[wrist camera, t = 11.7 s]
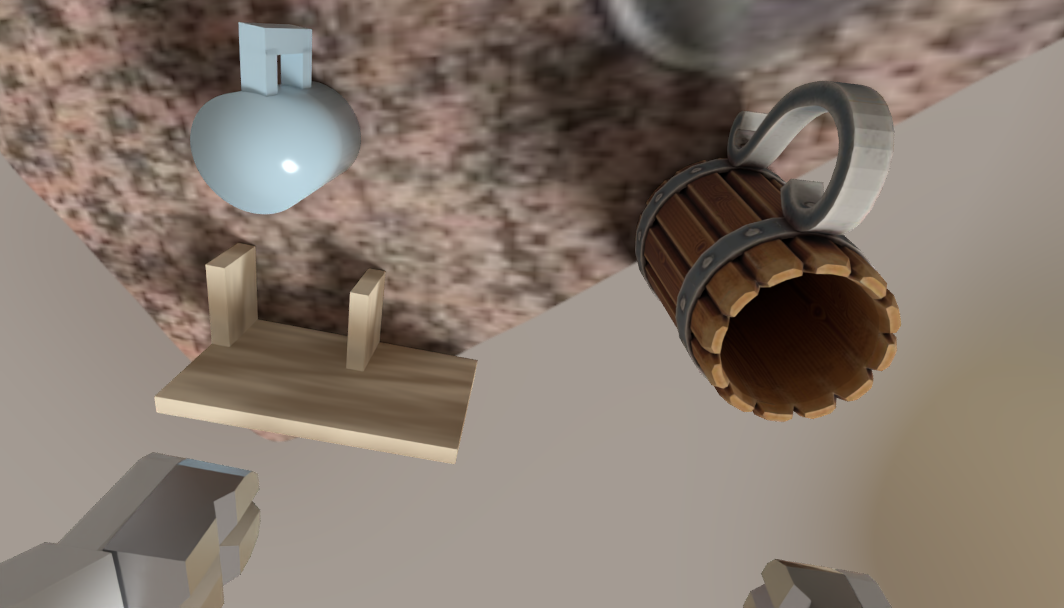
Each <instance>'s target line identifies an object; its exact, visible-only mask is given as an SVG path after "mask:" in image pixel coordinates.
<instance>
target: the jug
mask: <svg viewBox="0 0 1064 608" xmlns="http://www.w3.org/2000/svg"><path fill="white" fill-rule="evenodd" d="M239 44H240V68H241V91H239V92H233V93H228V94H223V95H220V96H217V97H215V98H213V99H211V100H210V101H208V102H207V103H206V104H205V105H204V106H203V107H202V108H201V109H200V110H199V112H198V113H197V115H196V117H195V119H194V121H193V124H192V128H191V135H190V143H191V151H192V155H193V159H194V162H195V164H196V166H197V169H198V171H199V172H200V174H201V176H202V177H203V179H204V180H205V182H206V183H207V184H208V186H209V187H210V188H211V189H212V190H213V191H214V192H215V193H216V194H217V195H218V196H220V197H221V198H222V199H223V200H225V201H226V202H228V203H229V204H231V205H233V206H235V207H237V208H239V209H241V210H244V211H247V212H251V213H257V214H273V213H278V212H281V211H284V210H286V209H288V208H290V207H291V206H293V205H295V204H296V203H298V202H299V201H301V200H302V199H304V198H305V197H307V196H308V195H310V194H311V193H313V192H314V191H316V190H317V189H319V188H320V187H322V186H323V185H325V184H327V183H328V182H330V181H331V180H333V179H334V178H336V177H337V176H339V175H340V174H342V173H343V172H345V171H346V170H347V169H348V168H350V167H351V165H352V164H353V163H354V161H355V160H356V158H357V156H358V153H359V150H360V144H361V133H360V127H359V123H358V120H357V117H356V115H355V113H354V111H353V109H352V108H351V106H350V105H349V104H348V102H347V101H346V100H345V99H344V98H343V97H342V96H341V95H340V94H339V93H337V92H336V91H335V90H333V89H332V88H330V87H328V86H326V85H324V84H321V83H318V82H315V81H311V73H312V29H309V28H304V27H299V26H295V25H290V24H268V23H245V22H239ZM277 55H281V84H278V85H277Z"/></svg>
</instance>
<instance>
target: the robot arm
mask: <svg viewBox="0 0 1064 608" xmlns="http://www.w3.org/2000/svg"><path fill="white" fill-rule="evenodd" d="M258 491H259V479H258V473H256V472H253V471H249V470H244V469H239V468H234V467H229V466H224V465H218V464H214V463H209V462H204V461H198V460H193V459H188V458H181V457H175V456H170V455H165V454H160V453H155V452H152V453H150V454H148V455H146V456H145V457H142V458H141V459H140V460H138V461H137V462H136V463H135V464H134V465H133V466H132V467H131V468H130V469H129V471H128V472H127V473H126V474H125V475H124V476H123V477H122V478H121V479H120V480H119V481H118V482H117V483H116V484H115V485H114V486H113V487H112V488H111V489H110V490H109V491H108V492H107V493H106V494H105V495H104V496H103V497H102V498H101V499H100V500H99V501H98V502H97V503H96V504H95V505H94V506H93V507H92V508H91V510H89V511H88V512H87V513H86V515H84V517H83V518H82V519H81V520H80V521H79V522H78V523H77V524H76V525H75V526H74V527H73V528H72V529H71V530H70V531H69V532H68V533H67V534H66V535H65V536H64V537H63V538H62V539H61V540H60V541H59V542H58V543H57V544H56V543H48V542H44V543H42V544H40V545H38V546H36V547H34V548H32V549H30V550H28V551H26V552H23V553H21V554H19V555H17V556H15V557H13V558H11V559H9V560H7V561H4V562H2V563H0V608H222V606H223V604H224V594H223V586H224V585H225V584H227V583H228V582H230V581H231V580H233V579H234V578H236V577H238V576H239V575H241V573H242V571H243V569H244V567H245V566H246V564H247V562H248V560H249V558H250V557H251V554H252V551H253V549H254V546H255V543H256V540H257V538H258V533H259V527H260V521H261V520H260V509H259V508H258V507H257V506H256V505H255V503H254V502H253V501H252V500H253V499H254V497H255V495H256V494H257V492H258ZM761 575H762V577H763V580H764V583H765V584H763V585H762V586H760V587H758V588H756V589H754V590H752V591H750V593H749V595H748V597H747V599H746V601H745V603H744V605H743V608H892V607H891V605H890V604H889V602H888V600H887V599H886V597H885V595H884V594H883V592H882V590H881V589H880V587H879V585H878V584H877V582H876V581H875V580H873V579H872V578H871V577H870V576H869V575H868V574H864V573H858V572H851V571H846V570H840V569H832V568H830V567H824V566H817V565H811V564H804V563H798V562H791V561H785V560H779V559H774V560H772V561H770V562H769V563H767V565H766V566H765V568H764V569H763V571H762V573H761Z"/></svg>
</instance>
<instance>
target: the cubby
mask: <svg viewBox="0 0 1064 608" xmlns="http://www.w3.org/2000/svg"><path fill="white" fill-rule="evenodd" d="M385 272H386V271H381V270H376V269H370V268H369V269H368V270H367V271H366V272H365V274H364V275H363V276H362V278H361V279H360V280H359V281H358V283H357V284H356V285H355V287H354V288H353V289H352V290H351V292H350V304H349V323H348V336H344V335H339V334H333V333H328V332H323V331H317V330H312V329H307V328H301V327H296V326H290V325H285V324H280V323H274V322H269V321H264V320H258V306H257V278H256V249H255V246H252V245H247V244H242V243H237V244H236V245H234V246H233V247H231V248H230V249H228V250H227V251H225V252H224V253H222V254H221V255H219V256H218V257H216V258H215V259H213V260H212V261H210V262H209V263H207V264H206V277H207V289H208V302H209V314H210V326H211V339H212V344H211V345H210V346H209V347H208V348H207V349H206V350H205V351H203V352H202V353H201V354H200V355H199V356H198V357H197V358H196V359H195V360H194V361H193V362H191V364H189V365H188V366H187V367H186V368H185V369H184V370H183V371H182V372H180V373H179V374H178V375H177V376H176V377H175V378H174V379H173V380H172V381H171V382H170V383H169V384H167V385H166V386H165V387H164V388H163V389H162V390H161V391H160V392H159V393H158V394H157V395H155V396H154V398H155V405H156V411H157V413H163V414H168V415H174V416H180V417H186V418H191V419H198V420H203V421H209V422H215V423H221V424H226V425H232V426H238V427H243V428H249V429H255V430H261V431H266V432H272V433H278V434H284V435H289V436H295V437H301V438H307V439H312V440H319V441H325V442H330V443H336V444H341V445H347V446H353V447H359V448H365V449H370V450H376V451H382V452H388V453H393V454H399V455H405V456H411V457H416V458H422V459H428V460H433V461H439V462H445V463H451V464H455V461H456V457H457V453H458V448H459V444H460V439H461V435H462V430H463V426H464V421H465V417H466V412H467V407H468V403H469V399H470V394H471V390H472V385H473V381H474V377H475V372H476V366H477V360H473V359H468V358H462V357H457V356H452V355H446V354H441V353H436V352H430V351H425V350H419V349H414V348H409V347H403V346H398V345H393V344H387V343H382V342H380V332H381V320H382V308H383V296H384V284H385Z"/></svg>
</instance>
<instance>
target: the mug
mask: <svg viewBox="0 0 1064 608" xmlns="http://www.w3.org/2000/svg"><path fill="white" fill-rule="evenodd" d="M826 112H829V113H830V114H831V115H832V117H833V119H834V121H835V123H836V127H837V130H838V137H839V152H838V157H837V162H836V167H835V169H834V172H833V175H832V178H831V180H830V183H829V185H828V187H827V189H826V191H825V193H824V186H823V182H815V181H806V180H797V179H790V180H789V181H788V182H787V183H786V182H784V181H783V180H782V179H781V178H780V177H779V176H778V175H776V174H775V173H773V172H772V171H770V170H768V169H767V168H766V167H768V166H769V165H770V164H771V163H772V162H773V161H774V160H775V159H776V158H777V157H778V156H779V155H780V154H781V152H782V151H783V150H784V149H785V148H786V146H787V145H788V144H789V143H790V141H791V140H792V139H793V138H794V137H795V136H796V135H797V134H798V133H799V131H800V130H801V129H802V128H803V127H805V126H806V125H807V124H808V123H809V122H810V121H812V120H813V119H814V118H816V117H817V116H819V115H821V114H823V113H826ZM893 150H894V127H893V121H892V116H891V113H890V111H889V108H888V105H887V104H886V102H885V100H884V99H883V97H882V96H881V95H880V94H879V93H878V92H877V91H875V90H874V89H872V88H870V87H867V86H864V85H858V84H849V83H840V82H831V81H817V82H812V83H808V84H804V85H801V86H799V87H796V88H795V89H793V90H792V91H790V92H789V93H787V94H786V95H785V96H784V97H783V98H782V99H781V100H780V101H779V102H778V103H777V104H776V105H775V106H774V107H773V109H772V110H771V111H770V112H769V114H766V113H757V112H748V111H742V112H740V113H739V114H738V115H737V117H736V118H735V120H734V122H733V125H732V127H731V131H730V135H729V139H728V147H727V156H728V158H718V159H715V160H711V161H708V162H707V161H706V160H703V161H700V162H697V163H694V164H691V165H689V166H687V167H685V168H683V169H681V170H679V171H677V172H676V174H675V176H674V177H672V178H671V179H670V180H665V181H664V182H663V183H662V184H661V185H660V186H659V187H658V188H657V189H656V190H655V191H654V192H653V194H652V195H651V197H650V198H649V199H648V201H647V202H646V204H647V207H646V208H645V210H644V211H643V213H642V214H640V217H639V221H638V224H637V227H636V237H635V241H636V246H635V253H636V257H637V262H638V266H639V270H640V272H641V273H642V275H643V277H644V279H645V280H646V282H647V284H648V285H649V287H650V289H651V291H652V292H653V294H654V296H655V297H656V298H657V299H659V301H661V302H662V304H663V306H664V307H665V309H666V311H667V312H668V314H669V316H670V317H671V319H672V320H673V322H674V324H675V326H676V327H677V329H678V332H679V337H680V339H681V341H682V343H683V345H684V346H685V348H686V350H687V352H688V353H689V355H690V357H691V359H692V360H693V362H694V364H695V365H696V367H697V368H698V370H699V372H700V373H701V374H702V375H703V376H704V377H705V378H706V379H708V381H709V382H710V383H711V385H713V386H714V387H715V389H716V390H717V392H718V393H719V395H720V396H721V397H722V398H723V399H724V400H726V401H727V402H728V403H729V404H730V405H732V406H734V407H736V408H738V409H739V410H741V411H743V412H751V411H753V413H754V414H755V415H757V416H759V417H762V418H764V419H766V420H770V421H780V422H785V421H787V420H790V419H792V416H793V411H794V412H796V413H797V414H798V415H800V416H802V417H806V418H811V419H814V418H818V417H822V416H824V415H827V414H830V413H831V412H832V411H833V410H834V409H835V408H836V398H839V399H842V400H845V401H853V400H857V399H858V398H860V397H861V396H862V395H864V394H865V393H866V392H867V391H868V390H870V389H871V387H872V384H873V374H872V370H879V371H883V370H884V369H886V368H887V367H889V366H890V363H891V362H892V360H893V358H894V356H895V353H896V351H897V342H896V337H895V335H894V334H893V333H896V332H897V331H898V329H899V327H900V326H901V321H900V313H899V308H898V305H897V303H896V300H895V297H894V295H893V294H892V293H891V292H890V291H889V290H888V289H887V283H886V282H885V281H884V279H883V278H882V277H881V276H880V274H879V273H878V272H877V271H876V268H875V267H874V266H873V265H872V263H871V262H870V261H869V260H868V259H867V258H866V256H865V255H864V254H863V253H862V252H861V251H860V250H859V249H858V248H857V247H856V246H855V245H854V244H853V243H852V242H851V241H849V240H848V239H847V238H846V237H845V236H844V235H843V234H845V233H847V232H849V231H851V230H853V229H854V228H855V227H856V226H857V225H859V224H860V223H861V222H862V221H863V220H864V218H865V217H866V216H867V214H868V213H869V212H870V211H871V209H872V207H873V206H874V204H875V202H876V200H877V198H878V196H879V195H880V193H881V191H882V188H883V185H884V183H885V180H886V177H887V175H888V172H889V169H890V164H891V160H892V155H893ZM871 369H872V370H871Z"/></svg>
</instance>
